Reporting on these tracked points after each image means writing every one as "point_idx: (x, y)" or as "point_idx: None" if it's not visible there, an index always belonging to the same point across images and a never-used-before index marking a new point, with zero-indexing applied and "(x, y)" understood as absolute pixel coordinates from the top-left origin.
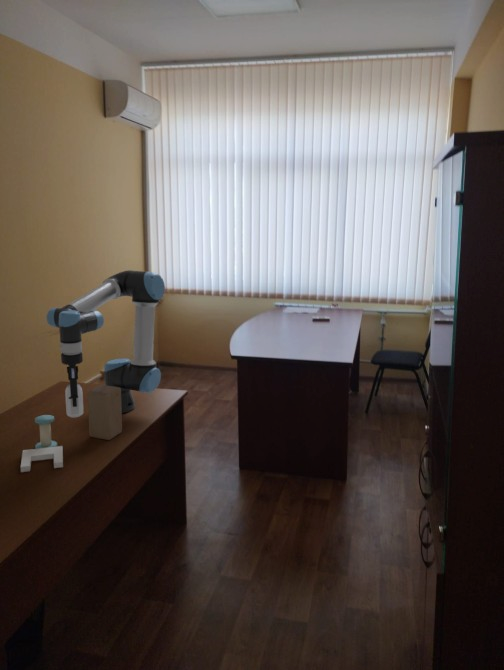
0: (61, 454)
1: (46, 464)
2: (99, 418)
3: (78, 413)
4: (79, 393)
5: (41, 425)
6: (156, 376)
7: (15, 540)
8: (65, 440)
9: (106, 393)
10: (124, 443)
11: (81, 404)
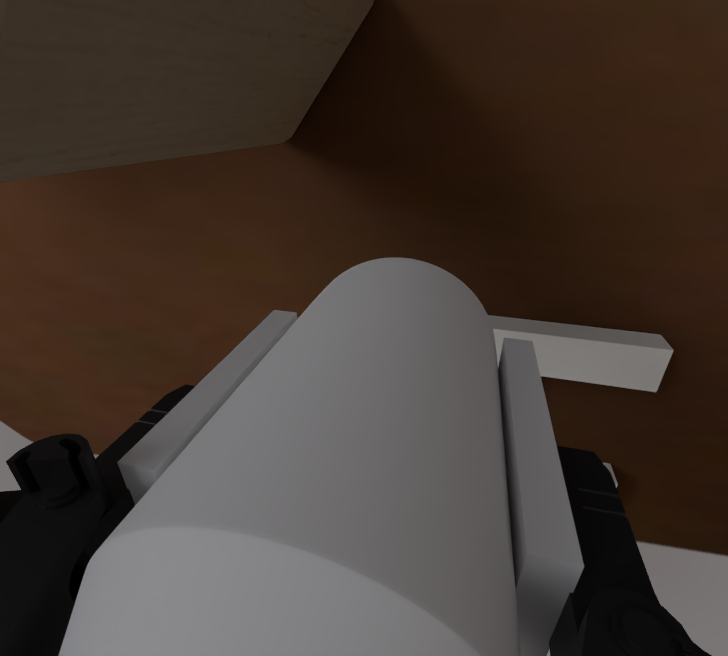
0: (553, 341)
1: (572, 397)
2: (268, 42)
3: (532, 350)
4: (486, 596)
5: None
6: None
7: None
8: (306, 280)
9: None
10: None
11: (458, 350)
